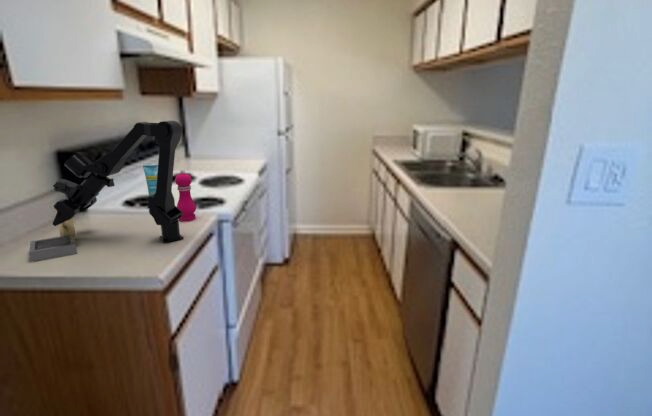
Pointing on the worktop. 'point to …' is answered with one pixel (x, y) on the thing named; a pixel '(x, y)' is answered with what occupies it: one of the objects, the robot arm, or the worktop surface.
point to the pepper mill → (185, 197)
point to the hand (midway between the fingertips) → (60, 220)
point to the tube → (151, 177)
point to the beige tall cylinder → (66, 227)
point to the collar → (52, 247)
